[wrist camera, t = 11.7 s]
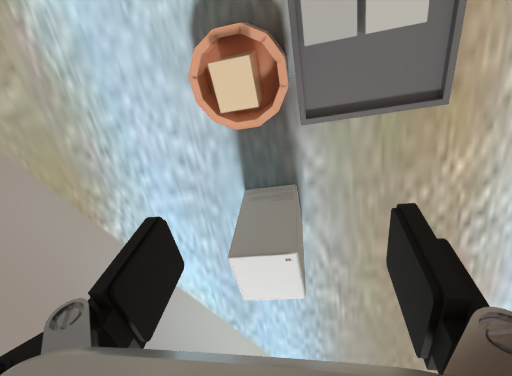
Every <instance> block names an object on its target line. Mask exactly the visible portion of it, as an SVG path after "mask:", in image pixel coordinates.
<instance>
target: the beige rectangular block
mask: <svg viewBox="0 0 512 376" xmlns="http://www.w3.org/2000/svg"><path fill="white" fill-rule="evenodd" d="M208 67H209V71H210V74H211V78H212V82H213V86H214V89H215V93H216V97H217V101H218V105H219V108H220V112H221V113H225V112H230V111H236V110H242V109H248V108H254V107H259V105H260V102H261V99H262V96H263V89H262V83H261V77H260V72H259V66H258V60H257V55H256V49H253V50H248V51H243V52H239V53H234V54H229V55H224V56H220V57H218V58H217V59H215V60H213V61H211V62H210V63H208Z"/></svg>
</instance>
